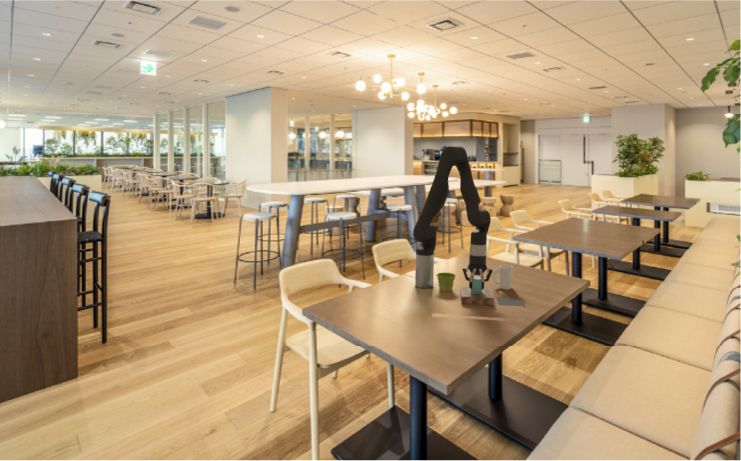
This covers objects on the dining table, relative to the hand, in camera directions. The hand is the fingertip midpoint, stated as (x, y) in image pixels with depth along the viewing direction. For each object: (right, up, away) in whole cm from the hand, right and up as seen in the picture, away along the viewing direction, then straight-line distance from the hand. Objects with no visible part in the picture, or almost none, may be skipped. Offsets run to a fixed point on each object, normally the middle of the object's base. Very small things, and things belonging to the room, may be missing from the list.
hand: (476, 289), depth 186 cm
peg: (0, -5, +1) cm, 5 cm away
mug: (+17, -3, +18) cm, 25 cm away
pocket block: (0, -6, +1) cm, 6 cm away
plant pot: (-11, -4, +15) cm, 19 cm away
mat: (+15, -6, -2) cm, 16 cm away
